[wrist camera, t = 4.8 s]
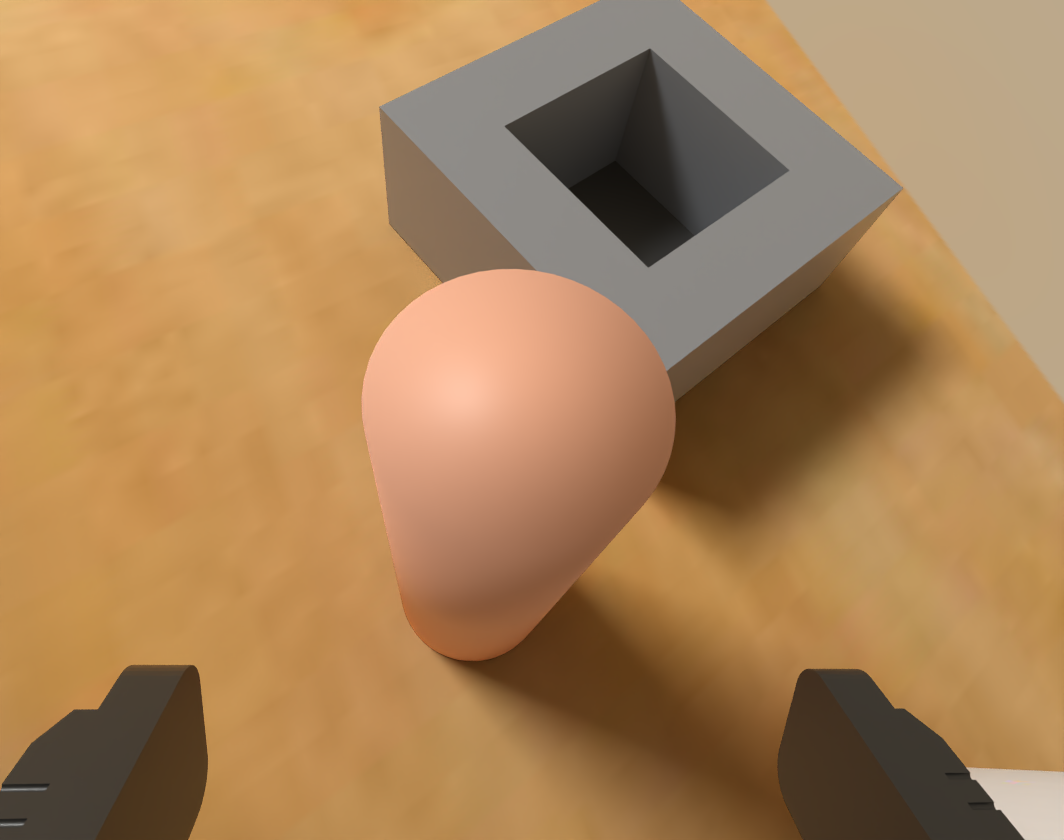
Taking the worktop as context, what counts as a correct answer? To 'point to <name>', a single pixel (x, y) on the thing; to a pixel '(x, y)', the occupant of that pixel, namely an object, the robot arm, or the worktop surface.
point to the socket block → (632, 177)
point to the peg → (509, 448)
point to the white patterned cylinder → (1027, 799)
